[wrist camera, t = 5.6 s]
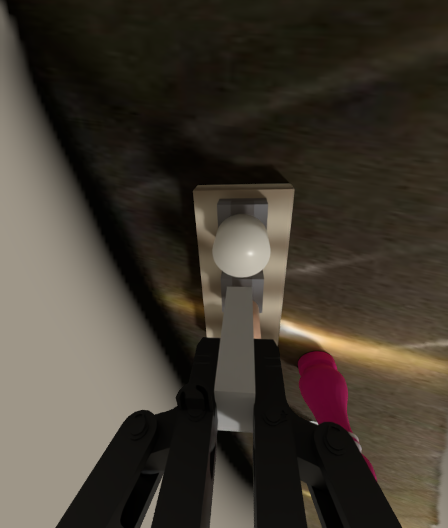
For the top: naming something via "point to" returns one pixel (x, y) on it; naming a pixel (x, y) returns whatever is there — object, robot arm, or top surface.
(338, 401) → the pepper mill
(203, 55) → the top surface
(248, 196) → the knob board
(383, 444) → the top surface
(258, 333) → the middle pink knob
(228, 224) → the knob
